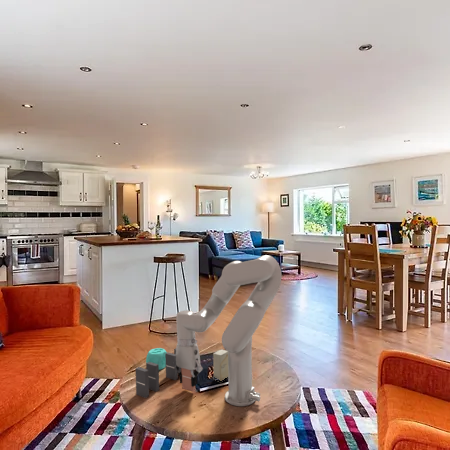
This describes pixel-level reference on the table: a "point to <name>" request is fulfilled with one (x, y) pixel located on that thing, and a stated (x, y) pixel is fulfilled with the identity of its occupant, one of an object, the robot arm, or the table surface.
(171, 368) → the domino
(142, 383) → the domino
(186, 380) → the domino
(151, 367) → the domino
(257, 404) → the table surface
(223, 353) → the skincare box
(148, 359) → the decorative dice
